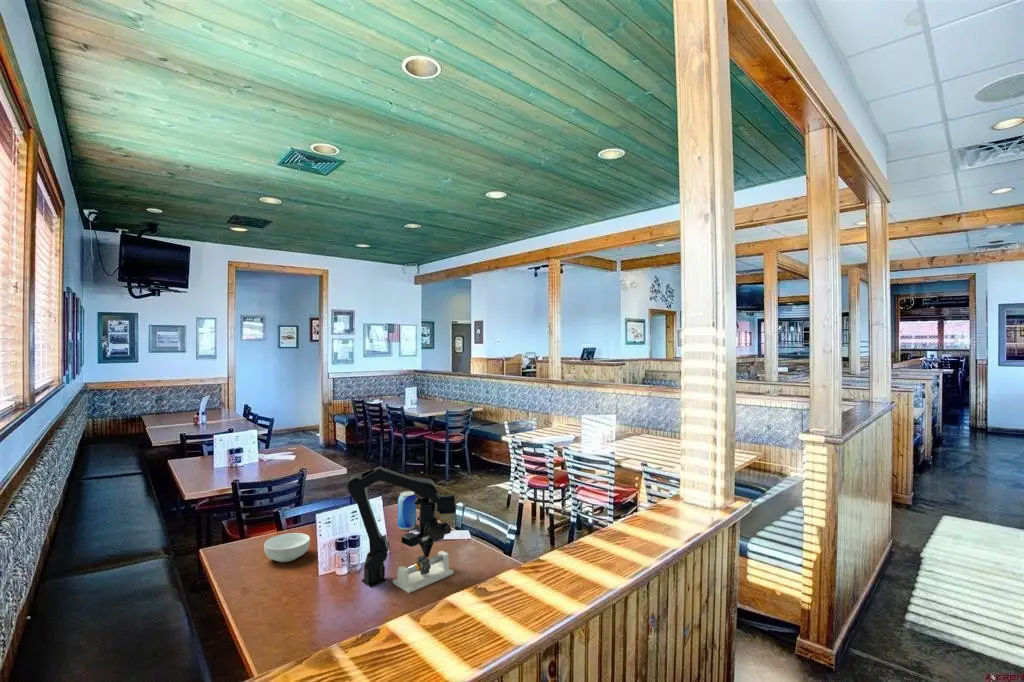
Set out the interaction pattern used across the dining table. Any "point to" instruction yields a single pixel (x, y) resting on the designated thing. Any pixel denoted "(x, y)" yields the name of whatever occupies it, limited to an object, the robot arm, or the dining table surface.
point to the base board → (417, 580)
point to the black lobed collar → (425, 561)
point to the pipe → (421, 565)
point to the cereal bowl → (286, 546)
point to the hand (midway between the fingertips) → (426, 556)
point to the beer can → (406, 510)
